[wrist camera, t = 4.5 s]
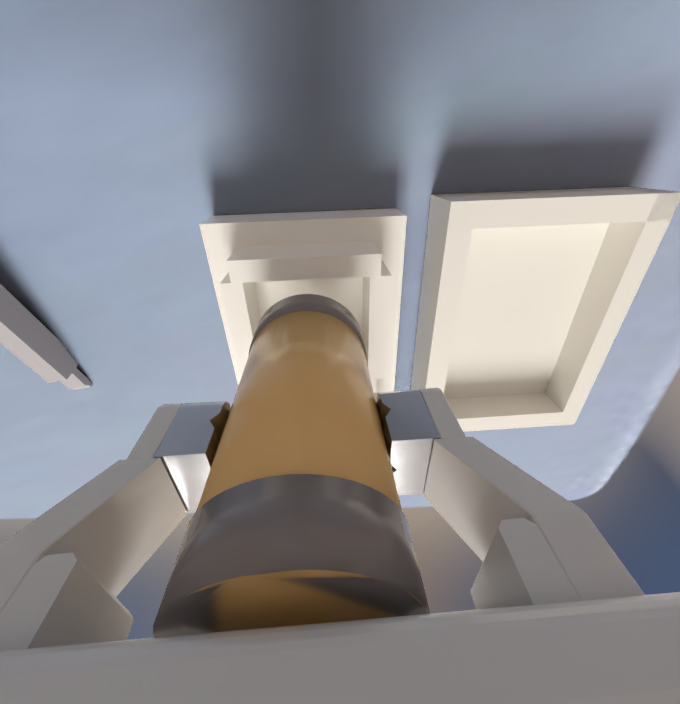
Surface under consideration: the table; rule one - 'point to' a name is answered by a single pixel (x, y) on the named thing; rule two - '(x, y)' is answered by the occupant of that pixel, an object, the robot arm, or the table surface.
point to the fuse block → (311, 274)
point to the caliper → (37, 344)
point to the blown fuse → (297, 492)
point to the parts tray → (529, 297)
